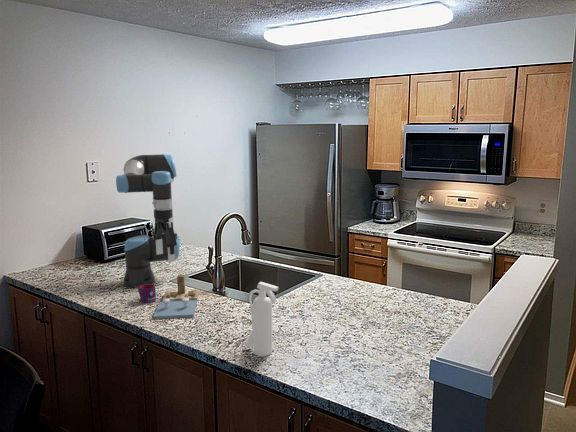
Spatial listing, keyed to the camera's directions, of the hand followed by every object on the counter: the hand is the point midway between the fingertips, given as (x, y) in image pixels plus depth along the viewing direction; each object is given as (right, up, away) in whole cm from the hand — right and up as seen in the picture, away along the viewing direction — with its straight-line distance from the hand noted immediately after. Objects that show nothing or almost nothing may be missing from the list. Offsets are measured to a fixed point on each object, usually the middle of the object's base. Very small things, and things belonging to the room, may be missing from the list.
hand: (165, 257), depth 196 cm
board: (+5, -22, -1) cm, 23 cm away
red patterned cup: (-12, -20, +12) cm, 26 cm away
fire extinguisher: (+43, -29, -37) cm, 64 cm away
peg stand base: (+3, -20, +14) cm, 24 cm away
